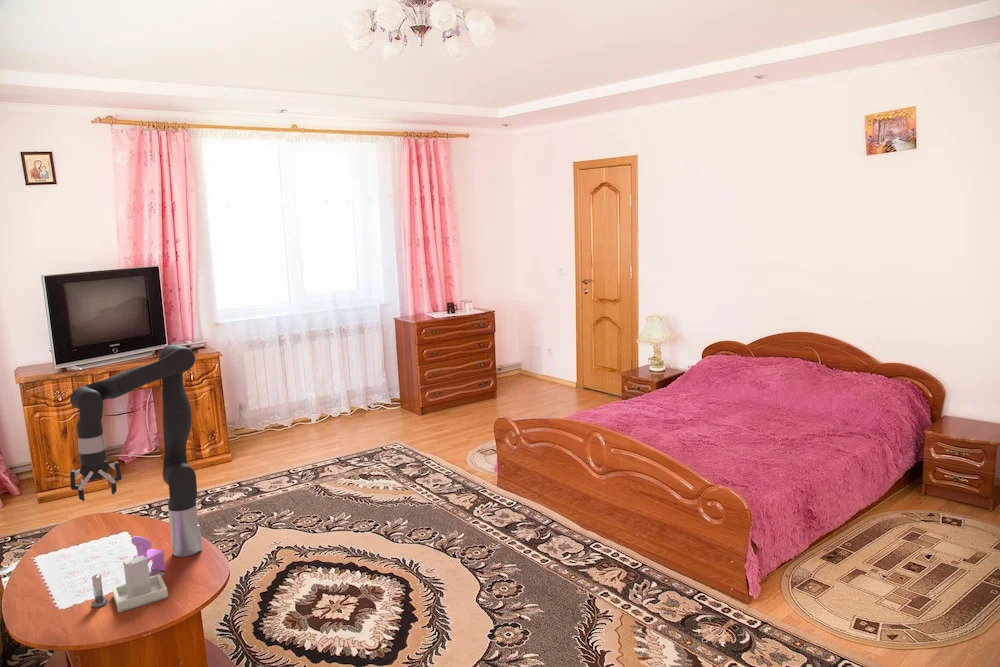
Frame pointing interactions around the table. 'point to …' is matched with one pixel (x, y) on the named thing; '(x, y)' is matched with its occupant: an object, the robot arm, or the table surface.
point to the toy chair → (148, 552)
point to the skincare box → (137, 576)
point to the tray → (128, 603)
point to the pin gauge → (98, 592)
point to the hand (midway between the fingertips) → (98, 496)
